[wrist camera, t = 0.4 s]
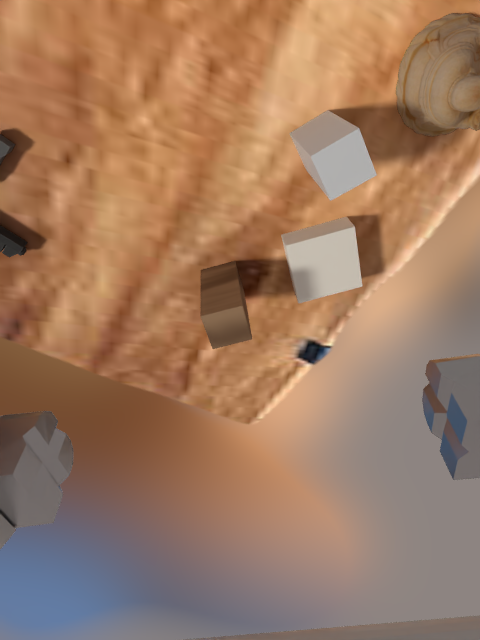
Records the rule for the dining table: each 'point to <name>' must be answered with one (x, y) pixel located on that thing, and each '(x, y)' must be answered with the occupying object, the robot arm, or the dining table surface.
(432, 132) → the statue
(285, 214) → the dining table surface
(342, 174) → the grey block
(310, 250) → the cream base
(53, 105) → the dining table surface
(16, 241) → the toy gun
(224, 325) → the walnut block
